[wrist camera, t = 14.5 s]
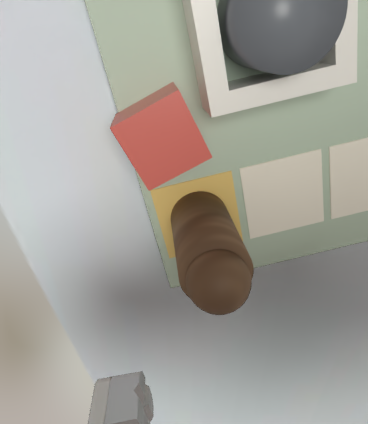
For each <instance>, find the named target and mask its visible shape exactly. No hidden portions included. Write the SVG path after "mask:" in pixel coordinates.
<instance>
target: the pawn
mask: <svg viewBox="0 0 368 424" xmlns="http://www.w3.org/2000/svg"><path fill="white" fill-rule="evenodd" d="M171 226H172V233H173V241H174V248H175V256H176V263H177V270H178V278H179V283H180V286H181V288H182V290H183V291H184V293H185V294H186V295H187V296H188V297H190V298H191V300H192V301H193V302H194V304H195V305H196V306H197V307H199V308H200V309H201V310H203V311H205V312H207V313H210V314H215V315H224V314H229V313H231V312H234V311H235V310H237V309H238V308H240V307H241V306H242V305H243V304H244V303H245V301H246V300H247V298H248V296H249V293H250V290H251V280H252V277H253V272H254V267H253V262H252V259H251V257H250V255H249V253H248V251H247V249H246V247H245V245H244V243H243V241H242V239H241V237H240V235H239V233H238V231H237V229H236V227H235V224H234V222H233V220H232V218H231V216H230V214H229V212H228V210H227V208H226V206H225V204H224V202H223V201H222V200H221V199H220V198H219V197H218V196H216V195H215V194H212V193H210V192H205V191H197V192H192V193H189V194H187V195H185V196H183V197H182V198H181V199H179V200H178V201H177V203H176V204H175V205H174V207H173V209H172V212H171Z"/></svg>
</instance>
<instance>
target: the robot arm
mask: <svg viewBox="0 0 368 424" xmlns="http://www.w3.org/2000/svg"><path fill="white" fill-rule="evenodd" d="M152 418H153V399H152V394H151V391H150V388H149V386H148V385H146V384H145V376H144V374H143V371H141V372H135V373H129V374H124V375H118V376H112V377H107V378H102V379H97V381H96V383H95V386H94V392H93V397H92V403H91V409H90V414H89V420H88V424H150V421H151V420H152Z"/></svg>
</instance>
